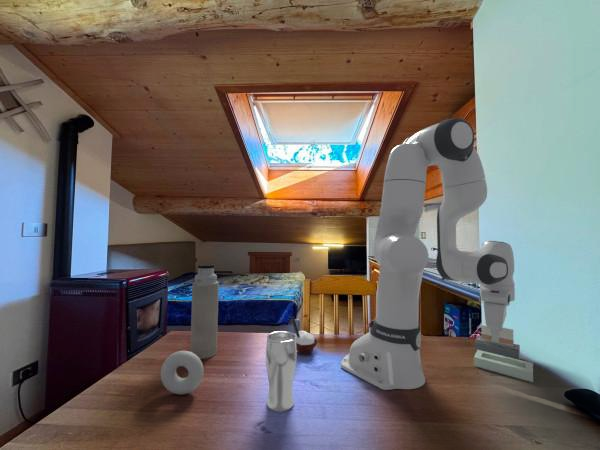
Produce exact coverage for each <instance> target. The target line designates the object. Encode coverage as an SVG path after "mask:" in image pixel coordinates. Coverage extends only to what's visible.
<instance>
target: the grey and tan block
mask: <svg viewBox="0 0 600 450" xmlns="http://www.w3.org/2000/svg"><path fill="white" fill-rule="evenodd" d="M474 346H475V347H474V348H475V349H474V351H475V354H476V352H477V350H481V351H485V352H489V353H493V354H497V355H502V356H506V357H510V358H514V359H518V360H521V355H520V354H521V350H520V347H521V345H520V344H516V343H514V347H512V346H507V345H503V344H498V343H494V342H489V341H485V340H482V336H479V335H478V336H477V338H476V339H475V343H474ZM475 354H474V355H475Z"/></svg>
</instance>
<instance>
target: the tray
mask: <svg viewBox="0 0 600 450" xmlns="http://www.w3.org/2000/svg"><path fill="white" fill-rule="evenodd" d="M473 366H474V367H477V368H480V369H483V370H487V371H491V372H494V373H499V374H501V375H505V376H509V377H513V378H517V379H520V380H523V381H527V382H531V383H534V362H530V361H527V360H526V361H525V360H522V359H520V360H518V359H514V358H510V357H506V356H502V355H497V354H493V353H489V352H485V351H481V350H477V352H476V354H474V356H473Z"/></svg>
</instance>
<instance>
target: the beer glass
mask: <svg viewBox="0 0 600 450" xmlns="http://www.w3.org/2000/svg"><path fill="white" fill-rule="evenodd" d="M266 338H267V339H266V347H265V364H266V374H267V379H268V394H267V399H266V406H267V407H268V409H269V410H271V411H273V412H275V413H276V412H277V413H280V412H281V413H283V412H287V411H289V410H291V409H292V408H293V407H294V404H295V400H294V393H293V382H294V378H295V372H296V365H297V355H298V351H297V348H296V333H294V332H291V331H285V330H277V331H273V332H271V333H269V334H267V336H266Z"/></svg>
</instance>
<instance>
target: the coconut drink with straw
mask: <svg viewBox="0 0 600 450" xmlns="http://www.w3.org/2000/svg"><path fill="white" fill-rule="evenodd" d="M290 319H291V322H292V325H293V328H294V329H293V330H294V332H295V335H296V348H297V353H299V354H300V355H303V356H308V355H311V353H312V352H313V351H314V348H315V347H316V346H317V343H318V341H317V339H315V335H313V334H311V333H309V332H307V331H306V330H298V326H297V322H296V319H295V317H294V316H292V315H291V316H290Z"/></svg>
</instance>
